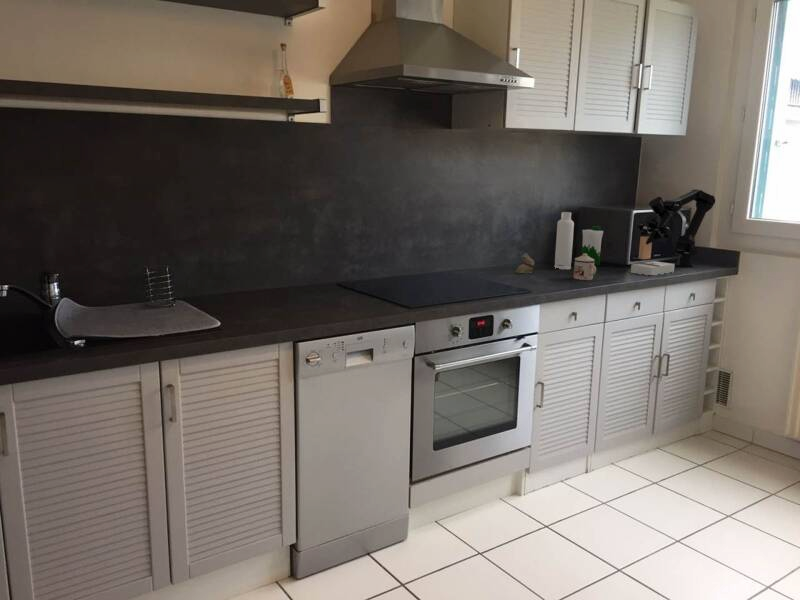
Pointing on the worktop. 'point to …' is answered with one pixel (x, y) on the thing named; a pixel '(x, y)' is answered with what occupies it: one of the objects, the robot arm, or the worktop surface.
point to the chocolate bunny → (526, 265)
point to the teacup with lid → (584, 268)
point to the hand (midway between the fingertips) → (644, 243)
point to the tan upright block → (645, 248)
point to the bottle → (564, 241)
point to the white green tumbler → (592, 243)
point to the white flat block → (652, 268)
